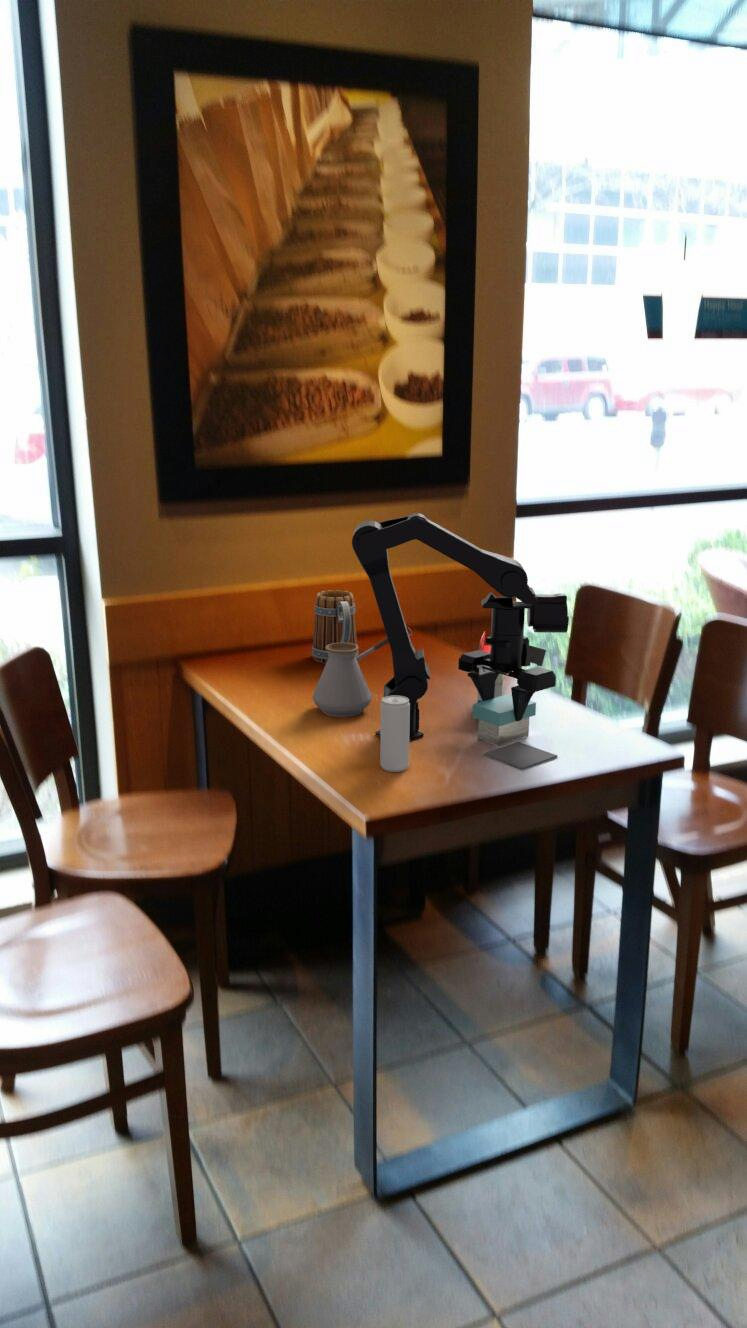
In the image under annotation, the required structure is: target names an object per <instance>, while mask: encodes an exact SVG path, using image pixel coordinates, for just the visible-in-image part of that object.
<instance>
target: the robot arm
mask: <svg viewBox="0 0 747 1328" xmlns="http://www.w3.org/2000/svg"><path fill="white" fill-rule="evenodd" d="M415 540H418V541H419V542H420V543H423V544H425V545H426V546H428V547H430V548H432V549H434V550H436V551H437V552H439V553H440V554H443V555H444V556H446V557H448V558H449V559H452V560H453V561H455V562H457V563H459V564H460V565H462V566H463V567H466V568H468V569H469V570H471V571H473V572H474V573H475V574H476V575H478V576H479V577H480V578H481V579H482V580H484V582H485V583H486V584H488V585H489V586H490V587H491V588H492V589H494V590H495V591H496V592H497V593H498V594H499V595H501V596H497V595H494V593H493V592H492V591H491V592H489V593H488V594H487V596H486V597H485V598H483V599H481V602H480V603H481V604H480V605H481V606H482V608H483V609H491V627H490V636H487V637H486V636H485V643H486V644H488V645H490V646H491V650H490V653H488V652H485V651H481V650H479V649H477V650H473V651H469V652H465V653H462V654H461V655H460V657H459V658H458V670H460V671H463V672H466V673H467V677H469V678H470V679H471V681H472V683H473V685H474V687H475V688H476V690H477V693H478V692H479V694H480V697H481V699H482V701H486V700H490V699H493V698H494V693H495V681H496V679H497V677H498V675H499V674H503V675H506V677H510V678H513V679H516V680H517V682H516V683H517V685H514V686H511V688H510V691H511V695H512V700H513V708H514V715H515V719H516V721H521V720H522V717H523V715H524V713H525V710H526V708H527V706H528V703H529V701H531V700H532V697H533V695H534V694H535V693H536V692H537V693H538V692H540V691H543V690H547V689H550V688H554V687H556V681H557V676H556V673H555V672H554V671H553V670H551V669H548V668H545V667H543V664H544V661H545V656H546V653H547V650H546V649H544V648H540V647H536V646H534V645H531V644H530V639H529V636H524V635H525V615H526V623H527V624H526V625H527V627H528V628H530V627H532V630H533V633H552V634H553V633H554V634H556V633H559V634H560V633H563V634H564V633H565V634H566V633H567V632H568V630H569V623H570V622H569V621H570V616H569V611H568V609H569V608H568V603H567V602H568V597H567V594H565V593H554V594H553V593H552V594H543V593H541V594H537V593H536V592H535V590H534V589H533V587H531V586H530V585H529V584H528V581H529V579H528V575H527V572H526V569H524V567H523V565H522V564H521V562H519V561H518V560H516V559H513V558H511V557H508V556H505V555H502V554H499V553H495V552H492V551H488V550H485V549H482V548H480V547H478V546H476V545H475V544H473V543H471V542H470V541H468V540H466V539H465V538H463V537H461V536H459V535H457V534H456V533H453V532H452V531H450V530H448V529H446V528H445V527H443V526H441V525H439V524H437V523H435V522H433V521H432V520H430V519H428V517H426V516H425V515H424V514H423V513H419V512H413V513H410V514H409V515H406V516H402V517H397V518H391V519H386V520H383V521H379V522H377V521H375V520H370V519H369V520H364V521H362V522H359V524H358V525H356V527H355V529H354V531H353V534H352V538H351V546H352V548H353V549H352V550H353V552H354V554H355V555H356V557H357V559H358V561H359V563H360V566H362V569H363V570H364V572H365V573H366V575H367V577H368V578H369V580H370V584H371V589H372V591H373V594H374V597H375V600H376V605H377V607H378V611H379V615H380V617H381V621H382V625H383V627H384V631H385V634H386V637H387V638H388V641H389V643H388V645H389V647H390V650H391V659H392V667H393V668H392V669H393V677H392V678H391V679H389V681H387V682H386V683H385V684H384V686H383V697H386V696H392V695H398V696H404V697H407V698H408V699H409V703H410V731H409V741H412V740H415V739H418V738H422V737H424V736H425V734H424V732H422V731H420V708H419V701H418V700H420V699H422V697H423V696H425V695H426V693H427V691H428V687H429V684H428V683H429V682H428V680H431V673H430V672H431V671H430V667H429V666H428V664H427V663H426V659H425V652H424V648H421V649H418V650H417V651H416V649H415V647H414V645H413V644H412V641H411V638H410V635H409V634H410V633H409V632H408V630H407V625H406V621H405V618H404V614H403V611H402V608H401V604H400V601H399V597H398V594H397V591H396V587H395V584H394V581H393V578H392V573H391V571H390V561H389V553H388V552H389V551H388V549H389V550H390V549H392V548H395V547H398V546H400V545H404V544H405V543H408V542H411V541H415ZM514 597H515V598H516V599H518V601H514V600H513V598H514ZM526 609H527V610H526ZM525 611H526V612H525ZM525 613H526V614H525ZM408 633H409V634H408ZM531 664H535V665H536V666H535V667H531V668H528V669H525V668H523V667H529V666H531ZM380 731H381V729H379V730H377V731H375V736H378V737H380Z"/></svg>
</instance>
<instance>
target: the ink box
mask: <svg viewBox="0 0 747 1328" xmlns="http://www.w3.org/2000/svg"><path fill="white" fill-rule="evenodd" d="M485 642H486V631H483V634H482V635H481V637H480V640H479V648H478V650H481V651H485V652H488V653H490V650H491V645H485ZM506 681H507V676H506V675H503V674H499V675H498V677H497V679H496V681H495V693H494V698H497V697H500V696H504V695H506V686H507V685H506V684H507V683H506ZM479 702H483V701H482V699H481V697H480V694H479V692H478V691H477V702H476V703H479Z"/></svg>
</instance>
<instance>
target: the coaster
mask: <svg viewBox="0 0 747 1328" xmlns="http://www.w3.org/2000/svg"><path fill="white" fill-rule="evenodd" d="M482 756H484V757H487V758H489V759H492V760H494V761H497V762H500V763H502V764H505V765H507V766H509V767H512V768H514V769H517V770H521V771H524V770H526V769H530V768H533V767H535V766H537V765H540V764H543V763H547V762H548V761H552V760H554V759H558V755H557V754H555V753H551V752H548V751H546V750H543V749H540V748H537V747H535V746H532V745H529V744H526V743H524V742H521V741H516V742H513V743H512V742H511V743H510V744H507V745H503V746H499V747H498V748H494V749H492V750H488V751H486V752H483V753H482Z"/></svg>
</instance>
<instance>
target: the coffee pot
mask: <svg viewBox="0 0 747 1328" xmlns="http://www.w3.org/2000/svg"><path fill="white" fill-rule="evenodd" d="M406 627H407V631H408V630H409V631H410V632H411V634H410V633H409V632H408V634H409V637H410V636H413V635H414V633H413V631H412V629H411V628H410V627H409V626H408V625H406ZM387 644H388V645H389V641H388V638H387V636H386V637H385V638H383V639H381V640H379V642H378V643H376V644H374V645H373V646H372V647H370V648H369V649H367V650H365V651H363V652H362V653H360V654H358V656H356V652H357V650H358V651H359V649H360V647H359V645H358V644H357V645H356V644H352V643H332V644H329V645H327V646H326V647H325V649H326V650H327V651H328V655H329V658H328V661H327V663H326V664H324V665H325V666H324V668H323V670H322V672H321V675H320V677H319V680H318V683H316V684H317V685H316V687H315V690H314V692H313V694H312V701H313V702H314V705H315V706H316V707H317V708H318V709H319V710H321V711H322V713H323V714H325V715H327V716H331V717H336V718H337V717H339V718H345V717H353V716H358V715H359V714H361V713H362V712H363V710H365V709H366V708H367V707H368V706H369V705H370V703H371V702H372V698H373V695H372V693H371V690H370V689H369V686H368V683H367V680H366V679H365V677H364V674H363V672H362V669H361V667H360V665H359V661H361V660H363V659H364V658H365V657H367V656H368V655H369V654H371V653H373V652H375V651H377V650H378V649H381V648H382V647H384V646H386V645H387ZM355 656H356V657H355Z"/></svg>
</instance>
